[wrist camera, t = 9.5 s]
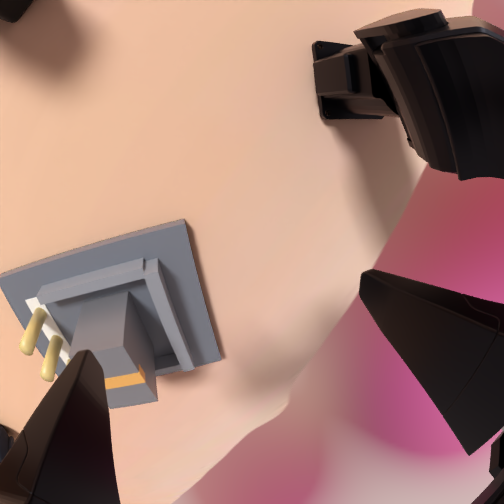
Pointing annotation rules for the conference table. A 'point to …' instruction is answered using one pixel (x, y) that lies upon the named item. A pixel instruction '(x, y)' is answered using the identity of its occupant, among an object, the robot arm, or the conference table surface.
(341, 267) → the conference table surface
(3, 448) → the headphones
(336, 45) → the robot arm
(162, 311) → the header socket
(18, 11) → the battery
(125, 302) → the plug
